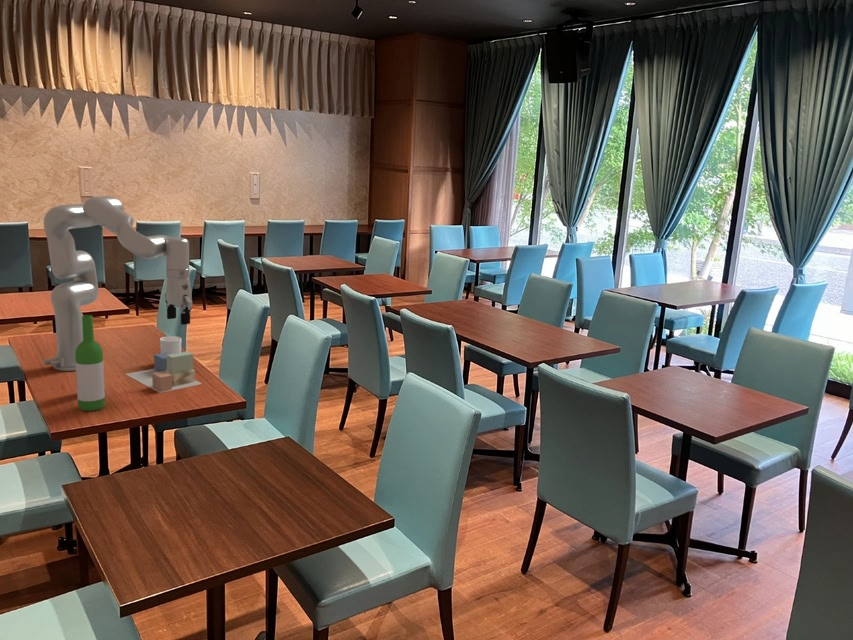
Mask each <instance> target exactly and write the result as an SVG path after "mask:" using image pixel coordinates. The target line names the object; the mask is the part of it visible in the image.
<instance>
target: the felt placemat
mask: <svg viewBox="0 0 853 640" xmlns="http://www.w3.org/2000/svg"><path fill="white" fill-rule="evenodd" d="M156 372H158V371H156V370H155V368H151V369H146V370H139V371H134V372H129V373H125V375H126V376H128V377H129V378H131V379H134V380H135V381H137V382H139V383H141V384H142V385H144V386H146V387H148V388H150V389H152V390H153V391H156V392H157V393H159V394H161V393H166V392H170V391H176V390H181V389H185V388H188V387H189V388H190V387H194V386H198V385H199V386H200V385H202V384H203V382H200V381H198V380H196V379H195V381H194V382H189V383H184V384H179V385H173V384H172V389H170V390H166V391H159V390H157V389H156V388H154V387H153V382H152V373H156Z"/></svg>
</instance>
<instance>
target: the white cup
mask: <svg viewBox="0 0 853 640" xmlns="http://www.w3.org/2000/svg"><path fill="white" fill-rule="evenodd" d="M159 344H160V345H159V347H160V353H166V354H168V355H169V354H175V353H181V352H182V337H180V336H175V335H169V336H163V337H160V338H159Z"/></svg>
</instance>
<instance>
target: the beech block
mask: <svg viewBox="0 0 853 640" xmlns="http://www.w3.org/2000/svg"><path fill="white" fill-rule="evenodd" d="M166 373H168V374H170V375H172V384H173V385H179V384H184V383H189V382H194V381H195V380H196V370H195V369H194V370H190V371H185V372H180V373H175V374H172V373H170V372H168V371H167V370H166Z"/></svg>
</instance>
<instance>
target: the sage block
mask: <svg viewBox="0 0 853 640" xmlns="http://www.w3.org/2000/svg"><path fill="white" fill-rule="evenodd" d="M190 370H195V368H194V353H192V352H190V351H188V350H187V351H181V353H175V354H169V355H167V371H168V372H170V373H172V374H175V373H180V372H185V371H190Z"/></svg>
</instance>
